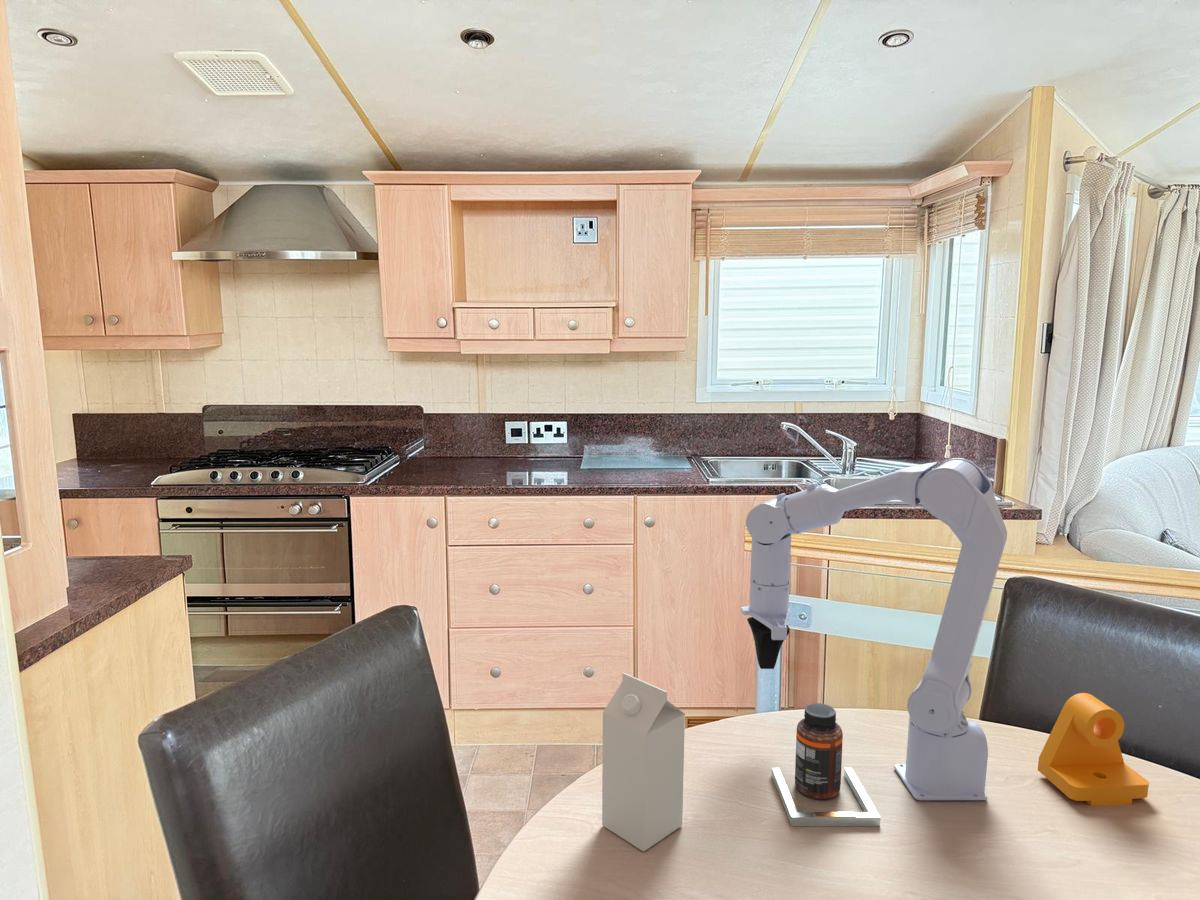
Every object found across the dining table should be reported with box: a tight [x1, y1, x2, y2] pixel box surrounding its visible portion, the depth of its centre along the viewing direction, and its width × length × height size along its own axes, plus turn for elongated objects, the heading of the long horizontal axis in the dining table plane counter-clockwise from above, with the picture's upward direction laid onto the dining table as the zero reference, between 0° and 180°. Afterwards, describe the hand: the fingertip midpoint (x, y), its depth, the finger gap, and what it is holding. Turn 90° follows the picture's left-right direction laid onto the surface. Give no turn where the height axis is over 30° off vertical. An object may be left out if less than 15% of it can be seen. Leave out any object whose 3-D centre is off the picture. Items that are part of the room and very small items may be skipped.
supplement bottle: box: [794, 702, 844, 800], centre depth 104 cm, size 6×6×11 cm
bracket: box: [1037, 692, 1150, 807], centre depth 105 cm, size 11×7×12 cm, turn 94°
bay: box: [771, 767, 881, 827], centre depth 103 cm, size 11×11×1 cm
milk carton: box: [601, 672, 686, 852], centre depth 96 cm, size 7×7×19 cm
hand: (766, 667), depth 118 cm, fingers closed
